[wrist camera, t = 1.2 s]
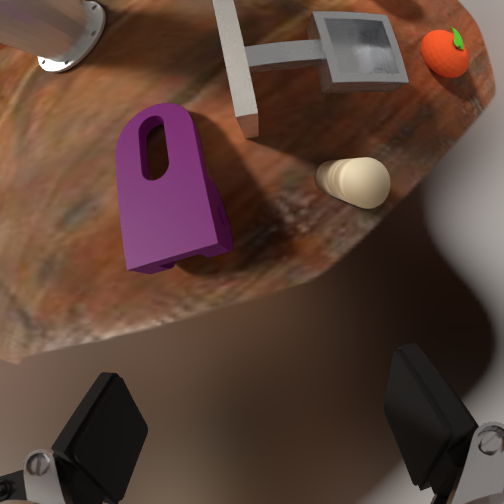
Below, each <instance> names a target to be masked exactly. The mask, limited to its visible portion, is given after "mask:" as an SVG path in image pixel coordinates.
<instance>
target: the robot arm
mask: <svg viewBox="0 0 504 504" xmlns="http://www.w3.org/2000/svg"><path fill="white" fill-rule="evenodd" d="M105 21H106V15H105V11H104V9H103V8H102V7H101V6H100V5H99V4H98V3H96V2H93V1H84V2H80V1H79V0H0V43H1V44H4V45H7V46H10V47H13V48H16V49H19V50H22V51H25V52H28V53H30V54H33V55H36V56H38V60H39V64H40V66H41V67H42V68H43V69H44V70H46V71H48V72H52V73H58V72H62V71H66V70H68V69H70V68H72V67H73V66H75V65H76V64H77V63H79V62H80V61H81V60H82V59H83V58H85V56H86V55H87V54H88V53H89V52H90V51H91V50H92V49H93V47H94V46H95V45H96V43H97V41H98V40H99V38H100V36H101V34H102V32H103V29H104V26H105ZM384 412H385V416H386V418H387V420H388V423H389V425H390V428H391V430H392V432H393V435H394V437H395V440H396V442H397V444H398V447H399V449H400V452H401V454H402V457H403V459H404V462H405V464H406V467H407V470H408V472H409V475H410V477H411V480H412V482H413V484H414V485H415V486H416V485H418V486H419V488H420V491H421V490H424V489H426V488H429V487H432V490H433V492H434V494H435V495H434V497H433V499H432V501H431V504H504V424H502V423H499V422H488V423H484V424H483V425H481V426H478V424H477V423H476V421H475V420H474V418H473V417H472V415H471V414H470V412H469V411H468V410H467V408H466V407H465V405H464V404H463V402H462V401H461V400H460V398H459V397H458V395H457V394H456V392H455V391H454V390H453V388H452V387H451V385H450V384H449V383H448V381H446V379H445V377H444V376H443V375H442V374H440V373H438V372H437V370H436V369H435V368H434V366H433V365H432V363H431V362H430V361H429V360H428V358H427V357H426V356H425V355H424V353H423V352H422V350H421V349H420V348H419V346H418V345H417V344H416V343H411V344H408V345H404V346H400V347H399V348H398V350H397V352H395V353H394V354H393V360H392V366H391V373H390V378H389V383H388V389H387V394H386V399H385V403H384ZM147 433H148V427H147V424H146V422H145V421H144V419H143V417H142V415H141V413H140V412H139V410H138V408H137V406H136V404H135V402H134V400H133V398H132V396H131V394H130V392H129V390H128V388H127V386H126V384H125V382H124V380H123V379H122V378H121V377H119V375H118V374H117V373H107V372H103V373H101V374H100V375H99V376H98V378H97V380H96V381H95V382H94V384H93V385H92V387H91V388H90V389H89V391H88V392H87V394H86V395H85V397H84V398H83V400H82V402H81V403H80V404H79V406H78V407H77V409H76V410H75V412H74V413H73V415H72V416H71V418H70V419H69V421H68V422H67V424H66V425H65V427H64V429H63V430H62V432H61V433H60V435H59V437H58V438H57V440H56V441H55V443H54V444H53V446H52V448H51V449H52V450H53V451H54V454H53V455H51V453H50V452H48V451H46V450H35V451H33V452H31V453H30V454H29V455H28V456H27V457H26V458H25V460H24V463H23V470H20V471H17V472H14V473H11V474H7V475H4V476H1V477H0V504H102V503H103V501H104V502H105V503H108V504H118V502H119V501H120V500H122V499H123V497H124V495H125V492H126V489H127V487H128V484H129V481H130V478H131V476H132V473H133V470H134V467H135V465H136V462H137V460H138V457H139V454H140V452H141V449H142V446H143V444H144V441H145V439H146V436H147Z"/></svg>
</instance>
